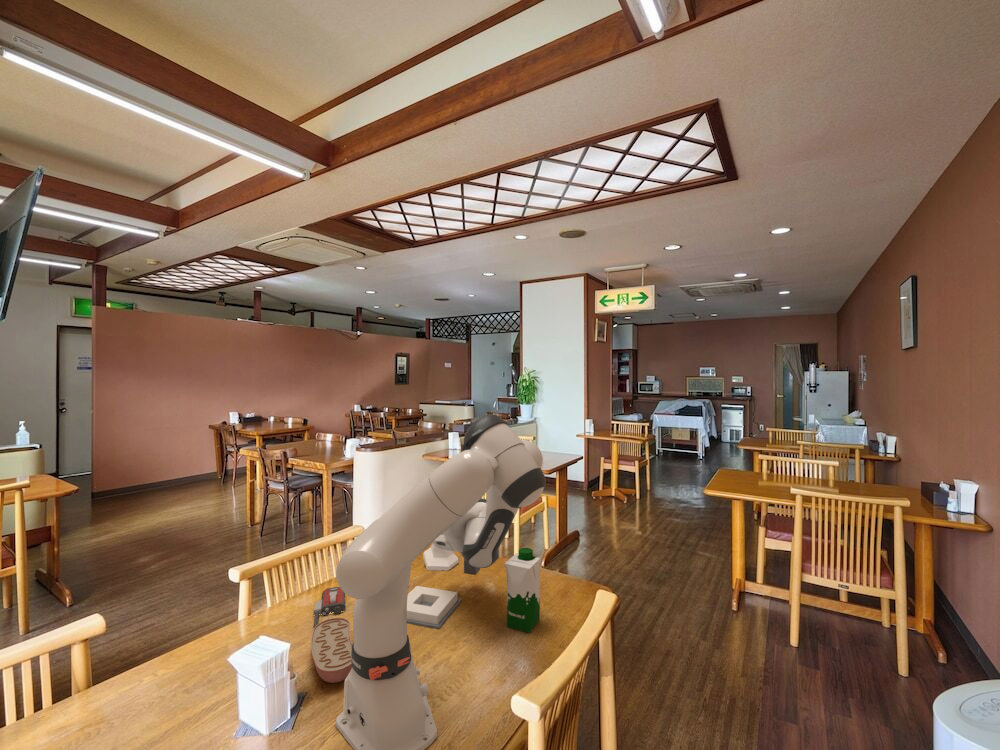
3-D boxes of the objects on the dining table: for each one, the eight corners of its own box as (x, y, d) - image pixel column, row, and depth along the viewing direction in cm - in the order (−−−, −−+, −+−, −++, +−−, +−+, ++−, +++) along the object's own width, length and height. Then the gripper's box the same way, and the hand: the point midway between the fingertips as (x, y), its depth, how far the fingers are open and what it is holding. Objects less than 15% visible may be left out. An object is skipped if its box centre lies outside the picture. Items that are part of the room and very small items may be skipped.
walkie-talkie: (316, 597, 146) (311, 633, 127) (316, 584, 145) (310, 617, 126) (345, 593, 148) (344, 627, 129) (345, 579, 148) (344, 611, 129)
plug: (479, 569, 151) (480, 539, 150) (475, 575, 147) (475, 544, 147) (468, 568, 152) (468, 538, 152) (463, 573, 148) (464, 542, 148)
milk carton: (543, 619, 132) (543, 550, 131) (530, 636, 124) (530, 562, 123) (516, 612, 136) (515, 544, 135) (501, 627, 128) (501, 556, 127)
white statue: (465, 562, 174) (471, 529, 170) (440, 581, 161) (446, 546, 158) (440, 547, 180) (445, 515, 176) (414, 565, 167) (419, 530, 164)
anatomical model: (360, 685, 105) (360, 663, 105) (313, 698, 101) (313, 676, 101) (348, 632, 126) (348, 614, 126) (309, 641, 122) (308, 623, 122)
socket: (461, 600, 142) (461, 591, 142) (439, 629, 127) (439, 618, 127) (415, 593, 147) (415, 583, 147) (388, 619, 132) (388, 609, 132)
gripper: (495, 529, 139) (505, 548, 149) (434, 521, 146) (447, 541, 155) (491, 549, 135) (501, 568, 145) (428, 540, 141) (441, 559, 151)
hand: (472, 554), depth 150 cm, fingers closed on plug, 4 cm apart
